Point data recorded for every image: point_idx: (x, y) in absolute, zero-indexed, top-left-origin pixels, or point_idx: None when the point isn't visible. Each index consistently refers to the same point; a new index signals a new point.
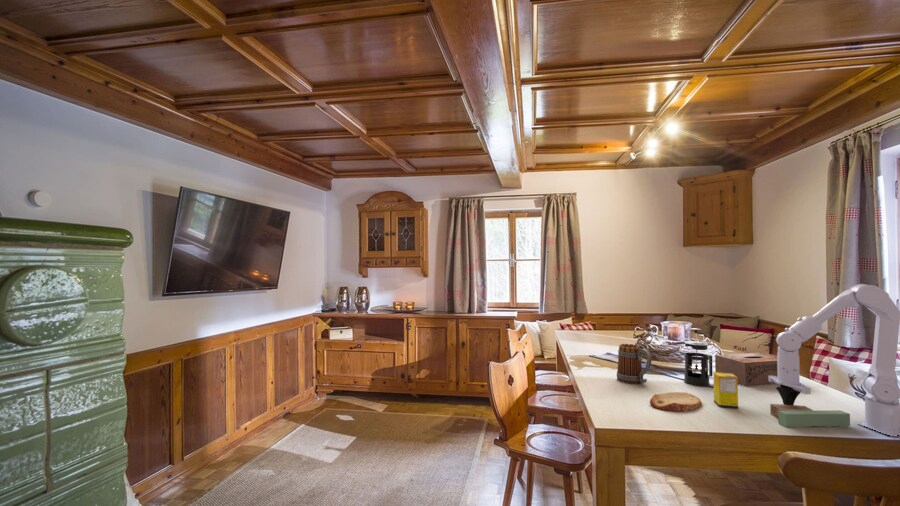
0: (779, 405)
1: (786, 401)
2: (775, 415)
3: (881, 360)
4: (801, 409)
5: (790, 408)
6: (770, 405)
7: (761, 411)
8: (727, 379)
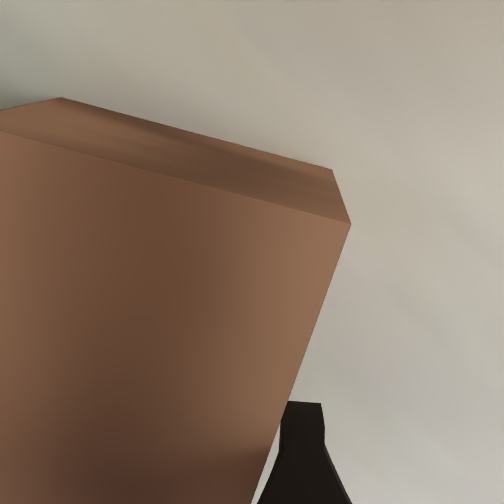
0: (235, 314)
1: (262, 499)
2: (198, 141)
3: None
4: (48, 475)
5: (77, 365)
6: (342, 210)
7: (465, 127)
8: None
